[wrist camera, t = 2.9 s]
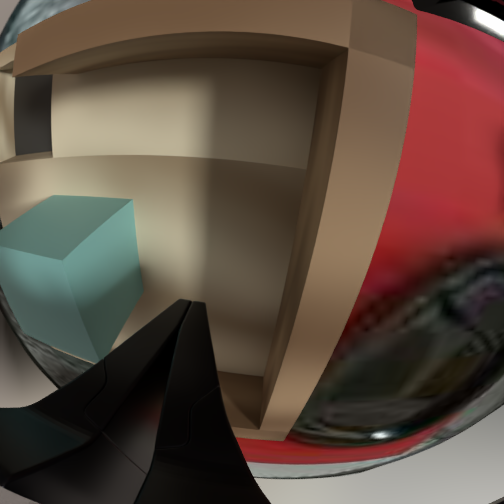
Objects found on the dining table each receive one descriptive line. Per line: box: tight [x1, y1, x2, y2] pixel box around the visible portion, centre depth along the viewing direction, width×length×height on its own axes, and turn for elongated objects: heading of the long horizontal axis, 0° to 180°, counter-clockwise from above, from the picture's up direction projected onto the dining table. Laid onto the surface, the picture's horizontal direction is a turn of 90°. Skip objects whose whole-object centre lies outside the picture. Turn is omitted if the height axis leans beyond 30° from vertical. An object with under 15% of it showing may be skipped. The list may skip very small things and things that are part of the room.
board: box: [0, 43, 321, 376], centre depth 12 cm, size 21×18×2 cm
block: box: [0, 195, 144, 363], centre depth 9 cm, size 4×4×4 cm
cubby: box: [12, 0, 417, 441], centre depth 9 cm, size 18×10×4 cm, turn 174°
